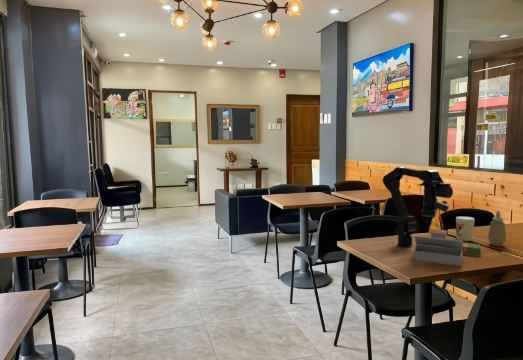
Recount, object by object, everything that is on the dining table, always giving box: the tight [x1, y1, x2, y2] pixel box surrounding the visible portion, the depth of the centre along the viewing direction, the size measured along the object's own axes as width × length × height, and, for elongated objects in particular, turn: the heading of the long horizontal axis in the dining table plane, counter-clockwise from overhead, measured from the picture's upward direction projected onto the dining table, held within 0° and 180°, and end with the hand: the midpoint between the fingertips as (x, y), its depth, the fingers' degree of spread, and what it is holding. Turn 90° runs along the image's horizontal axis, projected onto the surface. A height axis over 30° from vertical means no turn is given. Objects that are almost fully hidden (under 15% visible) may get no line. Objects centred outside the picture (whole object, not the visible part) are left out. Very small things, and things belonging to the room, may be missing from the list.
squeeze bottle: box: [487, 210, 507, 247], centre depth 203 cm, size 8×8×18 cm
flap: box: [414, 228, 464, 249], centre depth 181 cm, size 20×12×5 cm
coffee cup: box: [455, 216, 476, 242], centre depth 216 cm, size 9×9×12 cm
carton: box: [452, 242, 482, 257], centre depth 192 cm, size 8×16×4 cm, turn 63°
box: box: [412, 244, 463, 267], centre depth 180 cm, size 20×12×4 cm, turn 63°
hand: (428, 227), depth 191 cm, fingers open, 9 cm apart
